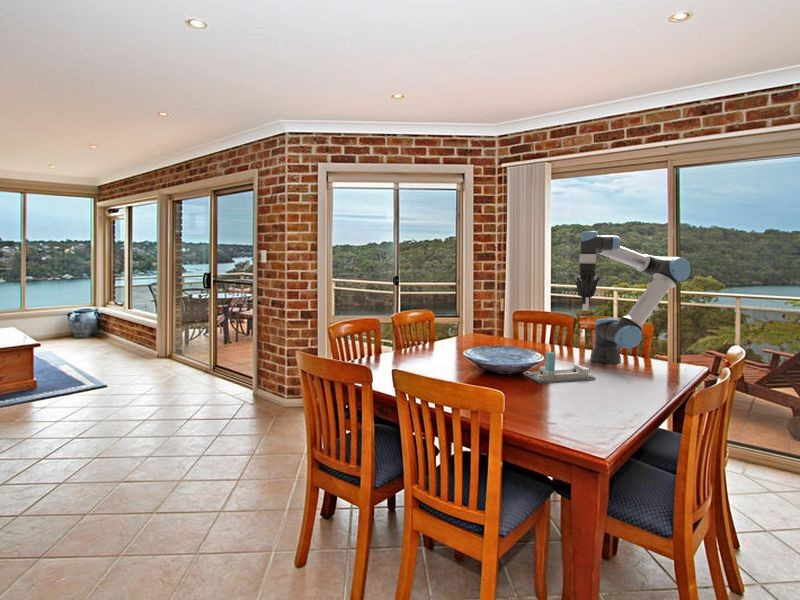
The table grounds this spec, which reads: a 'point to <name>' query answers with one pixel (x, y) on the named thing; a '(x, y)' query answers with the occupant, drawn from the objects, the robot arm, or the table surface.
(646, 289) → the robot arm
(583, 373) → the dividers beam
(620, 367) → the table surface
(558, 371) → the bolt plate
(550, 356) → the sliding leg
